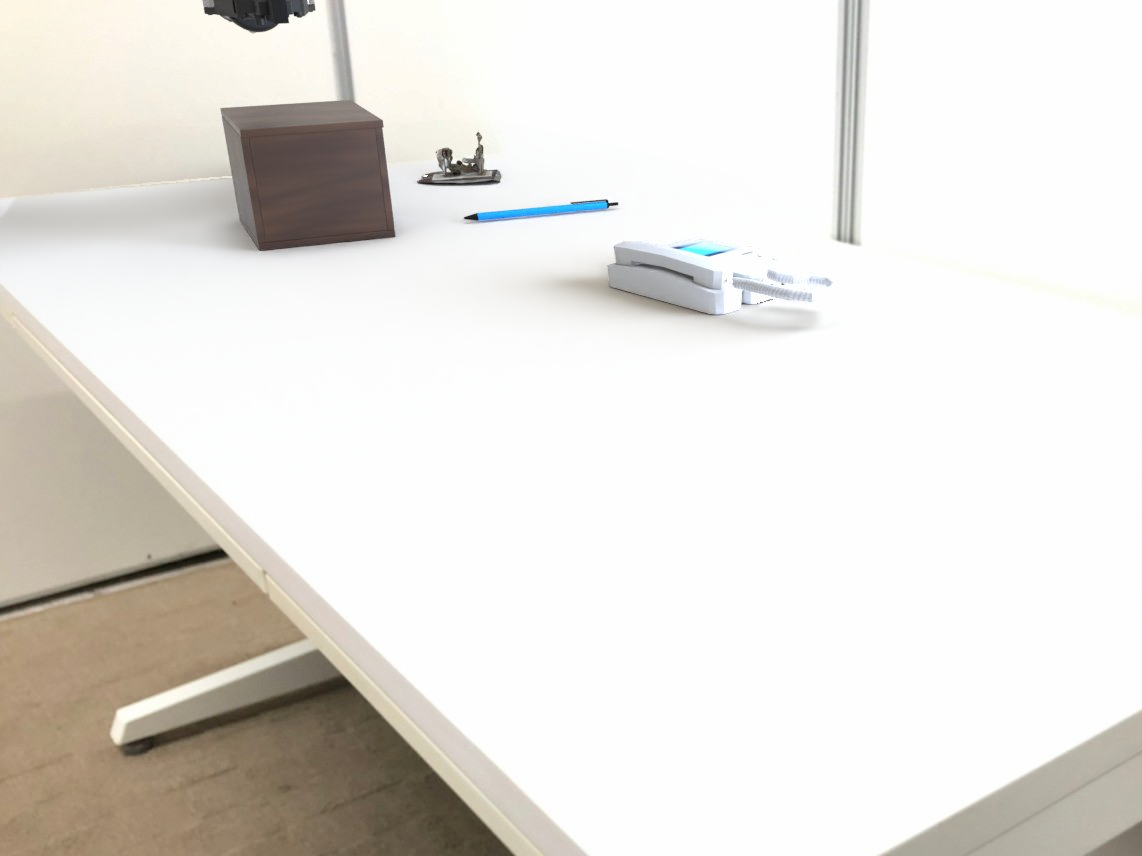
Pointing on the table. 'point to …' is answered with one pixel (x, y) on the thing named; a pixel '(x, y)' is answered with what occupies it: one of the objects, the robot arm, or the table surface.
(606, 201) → the pen
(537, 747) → the table surface
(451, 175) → the pewter figure scene
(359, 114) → the box lid
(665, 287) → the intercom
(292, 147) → the box
